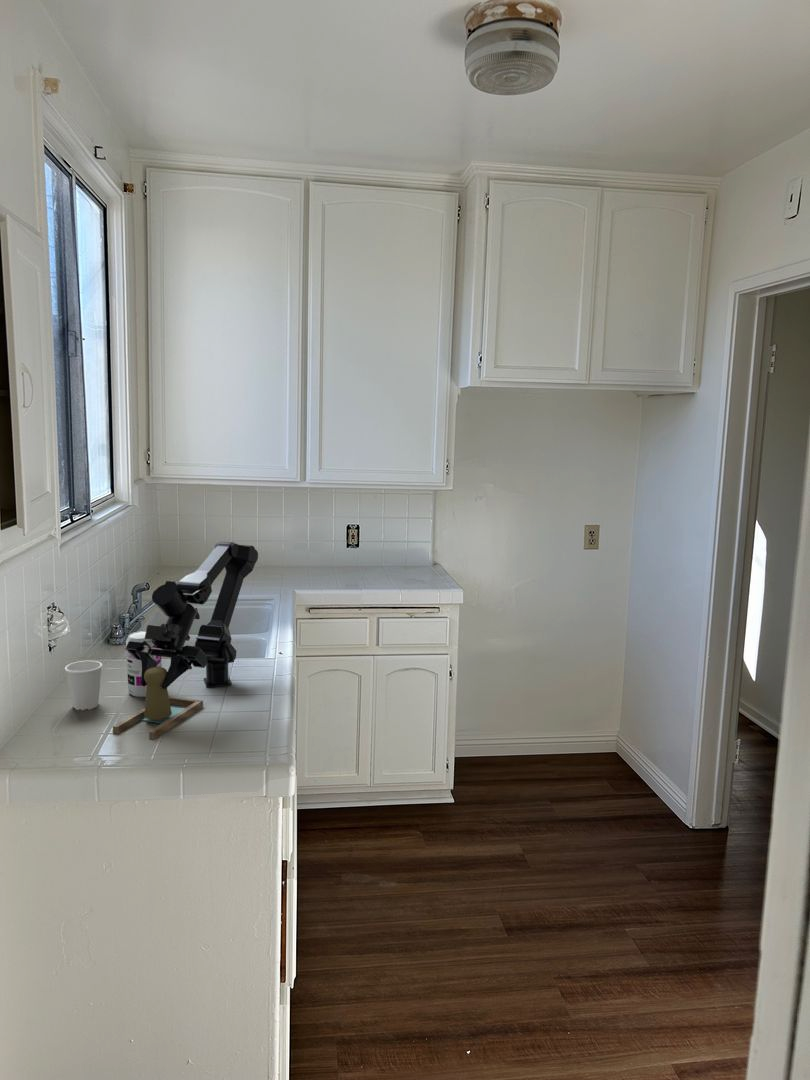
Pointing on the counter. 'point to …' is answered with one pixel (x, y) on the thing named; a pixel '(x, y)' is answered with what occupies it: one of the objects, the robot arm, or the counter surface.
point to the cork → (156, 694)
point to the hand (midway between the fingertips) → (153, 687)
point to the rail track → (167, 722)
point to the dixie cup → (84, 683)
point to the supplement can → (138, 666)
